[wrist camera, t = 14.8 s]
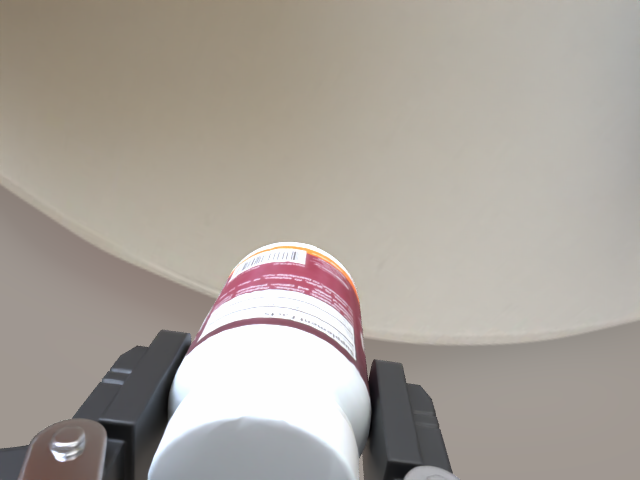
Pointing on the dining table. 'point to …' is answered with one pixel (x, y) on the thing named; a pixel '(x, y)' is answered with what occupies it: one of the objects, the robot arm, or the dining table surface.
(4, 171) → the dining table surface
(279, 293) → the pill bottle
